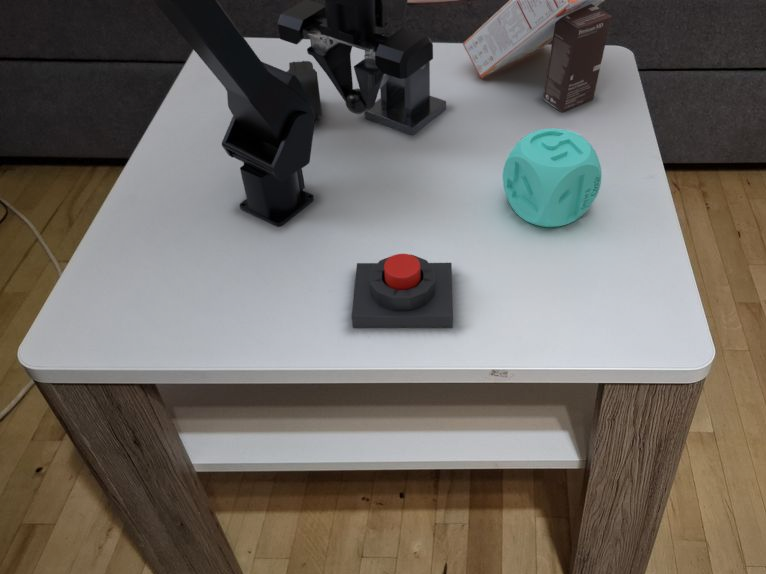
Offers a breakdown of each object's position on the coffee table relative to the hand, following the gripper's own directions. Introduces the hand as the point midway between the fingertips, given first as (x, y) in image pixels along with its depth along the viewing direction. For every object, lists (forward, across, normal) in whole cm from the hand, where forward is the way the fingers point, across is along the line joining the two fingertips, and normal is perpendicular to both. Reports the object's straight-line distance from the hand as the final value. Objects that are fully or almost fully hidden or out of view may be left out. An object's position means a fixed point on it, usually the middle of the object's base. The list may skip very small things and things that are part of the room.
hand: (359, 104), depth 93 cm
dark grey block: (+6, +13, 0) cm, 14 cm away
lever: (0, 0, -5) cm, 5 cm away
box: (+6, -17, -24) cm, 31 cm away
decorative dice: (+6, -26, -2) cm, 27 cm away
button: (+3, -21, +20) cm, 29 cm away
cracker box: (+4, -3, -30) cm, 30 cm away
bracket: (+6, 0, -10) cm, 11 cm away
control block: (+6, -21, +20) cm, 30 cm away
